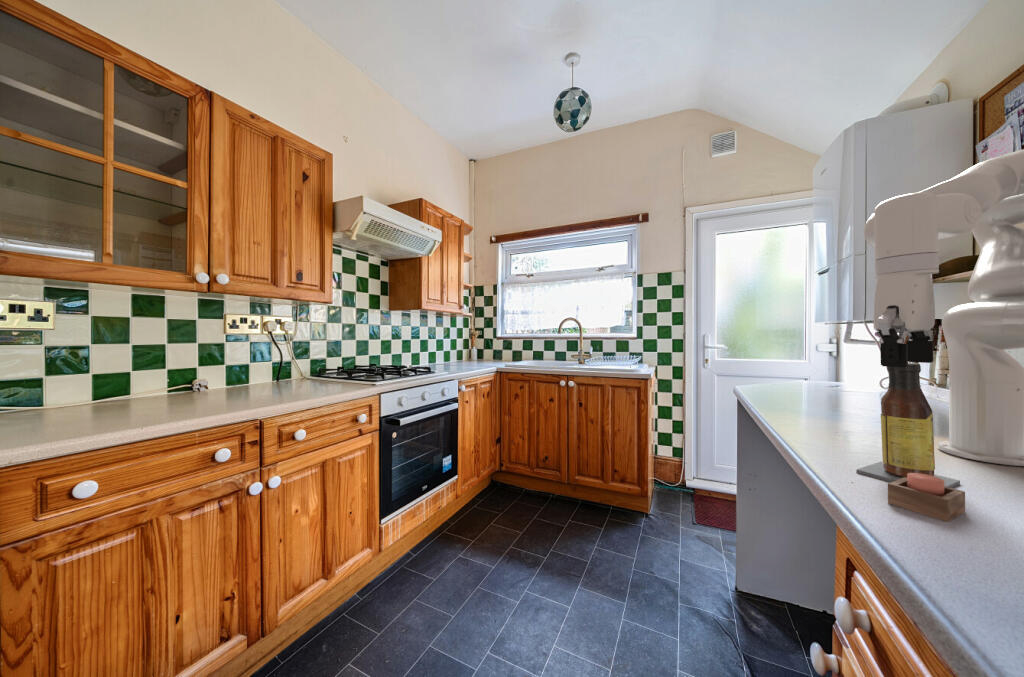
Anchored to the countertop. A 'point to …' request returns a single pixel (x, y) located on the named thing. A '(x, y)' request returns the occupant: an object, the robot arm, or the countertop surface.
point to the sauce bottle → (906, 424)
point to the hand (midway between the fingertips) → (907, 364)
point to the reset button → (926, 483)
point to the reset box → (927, 500)
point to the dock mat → (881, 473)
